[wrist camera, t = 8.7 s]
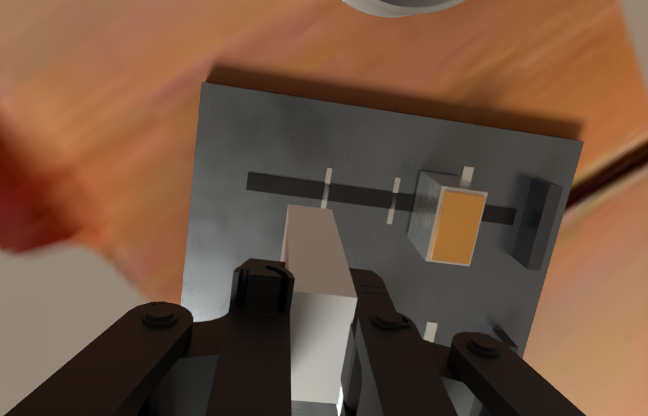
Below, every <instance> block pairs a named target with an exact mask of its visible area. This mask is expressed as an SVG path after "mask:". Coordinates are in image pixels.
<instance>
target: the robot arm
mask: <svg viewBox="0 0 648 416" xmlns="http://www.w3.org/2000/svg"><path fill="white" fill-rule="evenodd" d="M193 319H194V318H193V316H192V313H191V312H190V311H189V310H188V309H186V308H185V307H183V306H180V305H177V304H174V303H167V302H150V303H147V304H143V305H139V306H137V307H135V308H133V309H131V310H130V311H128V312H127V313H126V314H125V315H124V316H122V317H121V318H120V319H119V320H117V321H116V322H115V323H114V324H113V325H111V326H110V327H109V328H108V329H107V330H106V331H104V332H103V333H102V334H101V335H100V336H98V337H97V338H96V339H95V340H94V341H93V342H91V343H90V344H89V345H88V346H86V347H85V348H84V349H83V350H82V351H80V352H79V353H78V354H77V355H76V356H75V357H73V358H72V359H71V360H70V361H68V362H67V363H66V364H65V365H64V366H62V367H61V368H60V369H59V370H58V371H57V372H55V373H54V374H53V375H52V376H51V377H49V378H48V379H47V380H46V381H45V382H43V383H42V384H41V385H40V386H39V387H37V388H36V389H35V390H34V391H33V392H31V393H30V394H29V395H28V396H27V397H25V398H24V399H23V400H22V401H21V402H20V403H18V404H17V405H16V406H15V407H14V408H12V409H11V410H10V411H9V412H8V413H6V414H5V415H4V416H292V407H291V400H296V401H308V402H320V403H332V404H338V399H339V394H340V388H341V386H342V392H343V402H342V407H341V413H340V416H586V415H585V414H584V413H583V412H581V411H580V410H579V409H578V408H577V407H576V406H575V405H574V404H572V403H571V402H570V401H569V400H568V399H567V398H566V397H564V396H563V395H562V394H561V393H560V392H559V391H558V390H557V389H555V388H554V387H553V386H552V385H551V384H550V383H549V382H548V381H546V380H545V379H544V378H543V377H542V376H541V375H540V374H539V373H537V372H536V371H535V370H534V369H533V368H532V367H531V366H530V365H528V364H527V363H526V362H525V361H524V360H523V359H522V358H521V357H519V356H518V355H517V354H516V353H515V352H514V351H513V350H512V349H510V348H509V347H508V346H507V345H505V344H504V343H502V342H501V341H500V340H497V339H495V338H493V337H491V336H490V335H488V334H485V333H483V334H482V333H481V332H467V331H465V332H460V333H457V334H456V335H454V336H453V338H452V342H451V346H450V347H447V346H444V345H440V344H436V343H433V342H430V341H427V340H424V339H422V337H421V335H420V333H419V331H418V329H417V327H416V325H415V324H414V323H413V321H412V320H411V319H409V318H408V317H406V316H405V315H403V314H401V313H398V312H396V309H395V307H394V305H393V302H392V300H391V298H390V296H389V293H388V290H387V289H386V286H385V283H384V281H383V279H382V278H381V277H380V276H378V275H377V274H376V273H375V272H374V271H372V270H364V269H355V268H349V267H348V264H347V260H346V257H345V253H344V250H343V246H342V243H341V239H340V236H339V232H338V229H337V226H336V222H335V219H334V215H333V212H332V209H324V208H316V207H308V206H300V205H292V204H288V209H287V216H286V224H285V231H284V238H283V246H282V253H281V260H280V261H273V260H264V259H255V258H250V259H248V260H247V261H245V262H244V263H243V264H241V266H239V267H237V268H236V269H235V270H234V272H233V279H232V288H231V297H230V306H229V311H228V313H227V314H226V315H224V316H222V317H220V318H217V319H213V320H209V321H201V322H193Z"/></svg>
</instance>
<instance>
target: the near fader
mask: <svg viewBox="0 0 648 416" xmlns="http://www.w3.org/2000/svg"><path fill="white" fill-rule="evenodd" d="M487 194H488V192H486V191H485V190H483V189H481V188H479V187H478V186H476V185H474V184H473V183H471V182H469V181H468V180H466V179H464V178H462V177H461V176H454V175H447V174H440V173H433V172H426V171H421V172H420V177H419V181H418V186H417V191H416V196H415V201H414V205H413V210H412V215H411V220H410V225H409V230H408V234H407V237H408V239H409V240H410V241H411V242H412V244H413V245H414V246H415V248H416V249H417V250H418V252H419V253H420V254H421V256H422V257H423V258H424V260H425V261H429V262H438V263H446V264H454V265H462V266H470V264H471V259H472V255H473V251H474V247H475V243H476V239H477V235H478V231H479V227H480V223H481V218H482V214H483V210H484V206H485V202H486V198H487Z"/></svg>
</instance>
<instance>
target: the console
mask: <svg viewBox="0 0 648 416" xmlns="http://www.w3.org/2000/svg"><path fill="white" fill-rule="evenodd" d="M583 143H584V142H582V141H578V140H574V139H568V138H561V137H555V136H549V135H542V134H536V133H529V132H523V131H517V130H510V129H504V128H497V127H491V126H485V125H478V124H472V123H465V122H459V121H453V120H446V119H440V118H434V117H427V116H421V115H414V114H408V113H402V112H395V111H389V110H382V109H376V108H370V107H363V106H357V105H350V104H344V103H338V102H331V101H325V100H319V99H312V98H306V97H299V96H293V95H287V94H280V93H274V92H267V91H261V90H255V89H248V88H242V87H235V86H229V85H223V84H216V83H210V82H202V84H201V95H200V106H199V116H198V127H197V138H196V149H195V159H194V170H193V181H192V191H191V202H190V213H189V224H188V234H187V245H186V256H185V266H184V277H183V288H182V298H181V306H183V307H185V308H186V309H188V310H189V311H190V312H191V313H192V316H193V318H194V319H193V322H201V321H209V320H213V319H217V318H220V317H222V316H224V315H226V314H227V313H228V311H229V306H230V297H231V288H232V279H233V272H234V270H235V269H236V268H237V267H239V266H241V264H243V263H244V262H245V261H247V260H248V259H250V258H255V259H264V260H273V261H280V260H281V253H282V246H283V238H284V231H285V224H286V216H287V209H288V204H292V205H300V206H308V207H316V208H324V209H332V212H333V215H334V219H335V222H336V226H337V229H338V232H339V236H340V239H341V243H342V246H343V250H344V253H345V257H346V260H347V264H348V267H349V268H355V269H364V270H372V271H374V272H375V273H376V274H377V275H378V276H380V277H381V278H382V279H383V281H384V283H385V286H386V289H387V290H388V293H389V296H390V298H391V300H392V302H393V305H394V307H395V309H396V312H398V313H401V314H403V315H405V316H406V317H408V318H409V319H411V320H412V321H413V323H414V324H415V325H416V327H417V329H418V331H419V333H420V335H421V337H422V339H424V340H427V341H430V342H433V343H436V344H440V345H444V346H447V347H450V346H451V342H452V338H453V336H454V335H456V334H457V333H460V332H465V331H467V332H481V333H482V334H483V333H485V334H488V335H490V336H491V337H493V338H495V339H497V340H500V341H501V342H502V343H504V344H505V345H507V346H508V347H509V348H510V349H512V350H513V351H514V352H515V353H516V354H517V355H518V356H519V357H521V358H522V357H523V354H524V350H525V347H526V343H527V340H528V336H529V333H530V329H531V326H532V322H533V319H534V315H535V312H536V308H537V305H538V301H539V298H540V294H541V291H542V287H543V284H544V280H545V277H546V273H547V270H548V266H549V263H550V259H551V255H552V252H553V248H554V245H555V241H556V238H557V234H558V231H559V227H560V224H561V220H562V217H563V213H564V210H565V206H566V203H567V199H568V196H569V192H570V189H571V185H572V182H573V178H574V175H575V171H576V168H577V164H578V161H579V157H580V154H581V150H582V147H583ZM421 171H426V172H433V173H440V174H447V175H454V176H461V177H462V178H464V179H466V180H468V181H469V182H471V183H473V184H474V185H476V186H478V187H479V188H481V189H483V190H485V191H486V192H488V194H487V198H486V202H485V206H484V210H483V214H482V218H481V223H480V227H479V231H478V235H477V239H476V243H475V247H474V251H473V255H472V259H471V264H470V266H462V265H454V264H446V263H438V262H429V261H425V260H424V258H423V257H422V256H421V254H420V253H419V252H418V250H417V249H416V248H415V246H414V245H413V244H412V242H411V241H410V240H409V239H408V237H407V234H408V230H409V225H410V220H411V215H412V210H413V205H414V201H415V196H416V191H417V186H418V181H419V177H420V172H421ZM291 407H292V415H294V416H338V411H337V405H336V404H332V403H320V402H308V401H296V400H291Z"/></svg>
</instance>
